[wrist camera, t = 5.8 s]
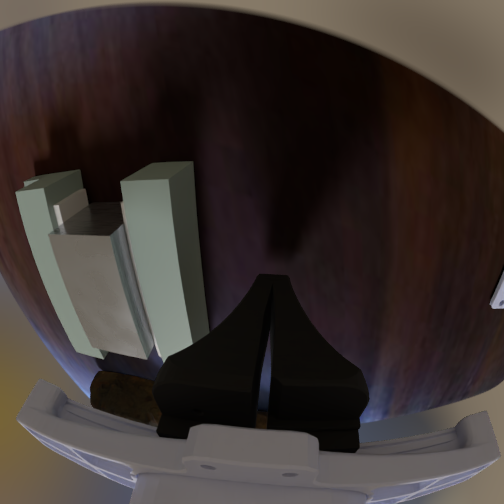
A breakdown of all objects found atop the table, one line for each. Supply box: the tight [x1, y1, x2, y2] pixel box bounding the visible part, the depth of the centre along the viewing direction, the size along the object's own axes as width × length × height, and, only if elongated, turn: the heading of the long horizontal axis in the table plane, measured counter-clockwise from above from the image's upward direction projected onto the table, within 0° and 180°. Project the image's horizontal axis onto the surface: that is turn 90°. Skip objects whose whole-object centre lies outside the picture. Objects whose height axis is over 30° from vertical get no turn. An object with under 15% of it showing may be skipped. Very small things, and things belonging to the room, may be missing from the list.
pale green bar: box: [16, 170, 109, 359], centre depth 14 cm, size 4×11×3 cm, turn 0°
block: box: [48, 202, 155, 359], centre depth 14 cm, size 4×7×4 cm, turn 0°
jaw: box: [120, 161, 210, 363], centre depth 14 cm, size 2×11×3 cm, turn 0°
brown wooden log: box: [90, 371, 268, 429], centre depth 20 cm, size 19×4×5 cm, turn 78°
